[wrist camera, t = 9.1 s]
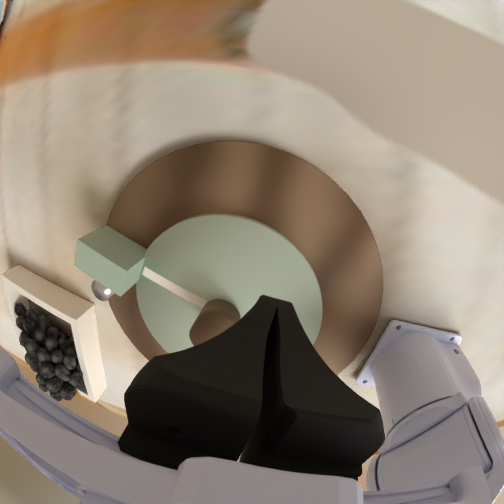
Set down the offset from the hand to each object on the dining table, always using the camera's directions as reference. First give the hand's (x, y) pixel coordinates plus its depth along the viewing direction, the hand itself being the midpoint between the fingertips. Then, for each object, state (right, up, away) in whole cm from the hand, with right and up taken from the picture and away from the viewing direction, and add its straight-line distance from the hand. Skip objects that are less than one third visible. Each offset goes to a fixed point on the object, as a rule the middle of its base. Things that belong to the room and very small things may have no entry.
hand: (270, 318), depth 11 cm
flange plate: (-5, -1, +10) cm, 12 cm away
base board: (-3, -1, +12) cm, 12 cm away
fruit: (-27, -8, +19) cm, 34 cm away
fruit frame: (-27, -8, +19) cm, 34 cm away
